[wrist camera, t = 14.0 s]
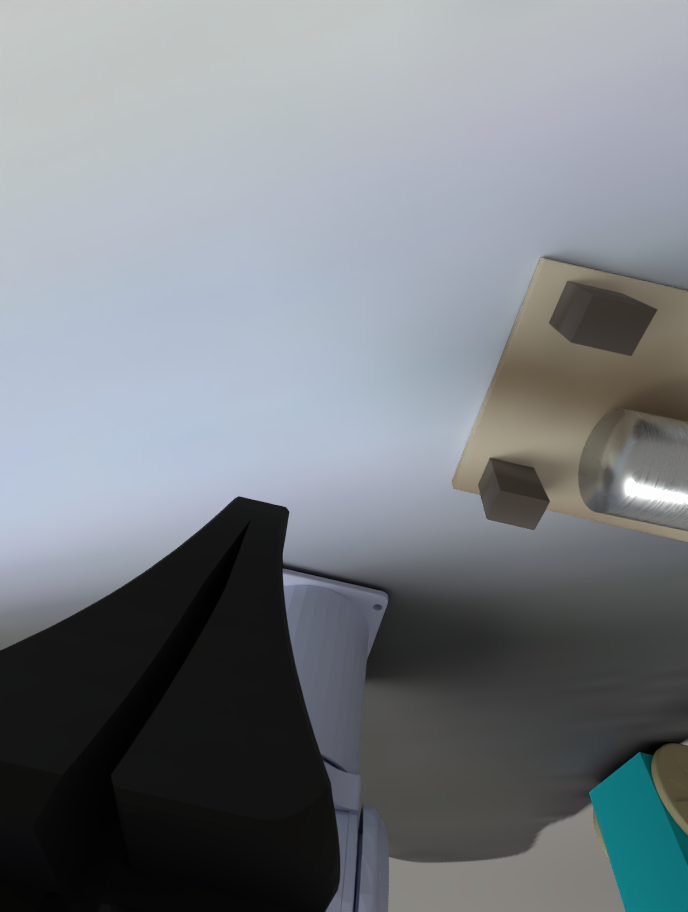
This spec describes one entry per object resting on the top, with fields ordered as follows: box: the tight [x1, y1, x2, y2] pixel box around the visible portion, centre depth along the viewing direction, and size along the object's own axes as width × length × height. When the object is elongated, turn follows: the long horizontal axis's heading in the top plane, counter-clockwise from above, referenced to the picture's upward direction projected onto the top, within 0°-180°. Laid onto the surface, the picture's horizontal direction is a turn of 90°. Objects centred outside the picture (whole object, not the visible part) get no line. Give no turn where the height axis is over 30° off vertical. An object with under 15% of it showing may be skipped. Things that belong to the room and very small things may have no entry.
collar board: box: [452, 257, 688, 542], centre depth 17 cm, size 10×14×4 cm
